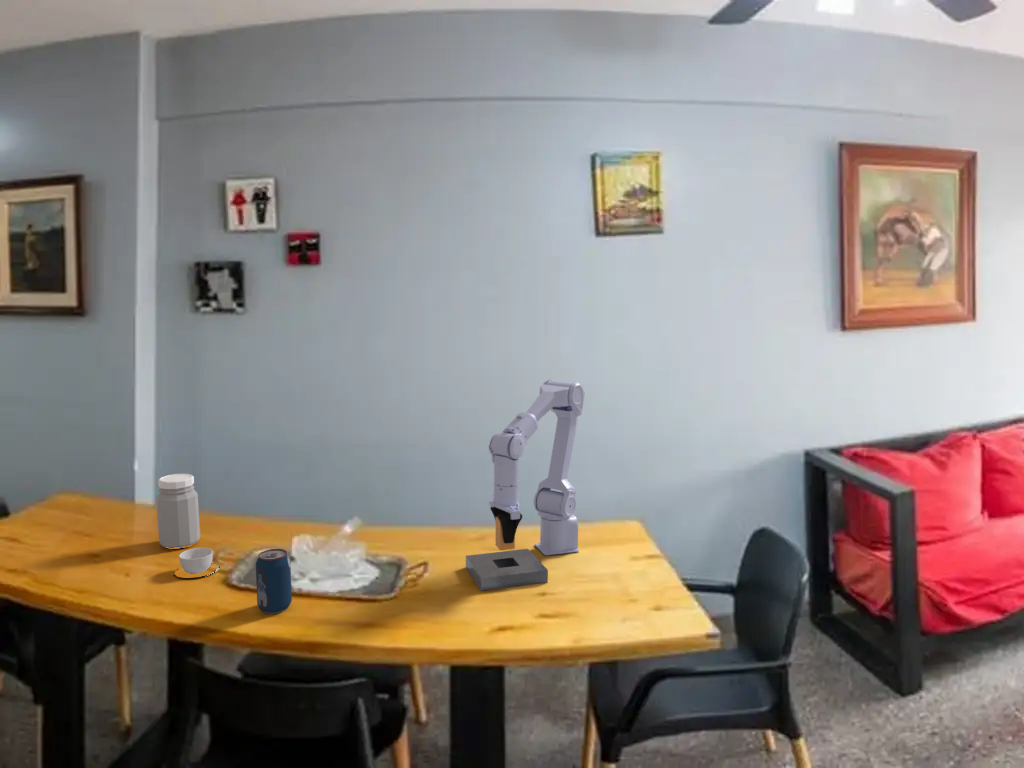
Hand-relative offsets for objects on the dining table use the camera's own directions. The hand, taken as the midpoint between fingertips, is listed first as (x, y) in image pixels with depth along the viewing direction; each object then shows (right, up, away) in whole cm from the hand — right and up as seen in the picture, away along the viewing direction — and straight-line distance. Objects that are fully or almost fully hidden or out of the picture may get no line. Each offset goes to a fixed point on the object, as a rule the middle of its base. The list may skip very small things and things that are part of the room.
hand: (505, 539), depth 166 cm
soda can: (-49, -11, -17) cm, 53 cm away
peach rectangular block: (0, -2, 0) cm, 2 cm away
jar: (-86, -6, +19) cm, 88 cm away
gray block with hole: (0, -9, +1) cm, 9 cm away
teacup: (-74, -8, +2) cm, 74 cm away
